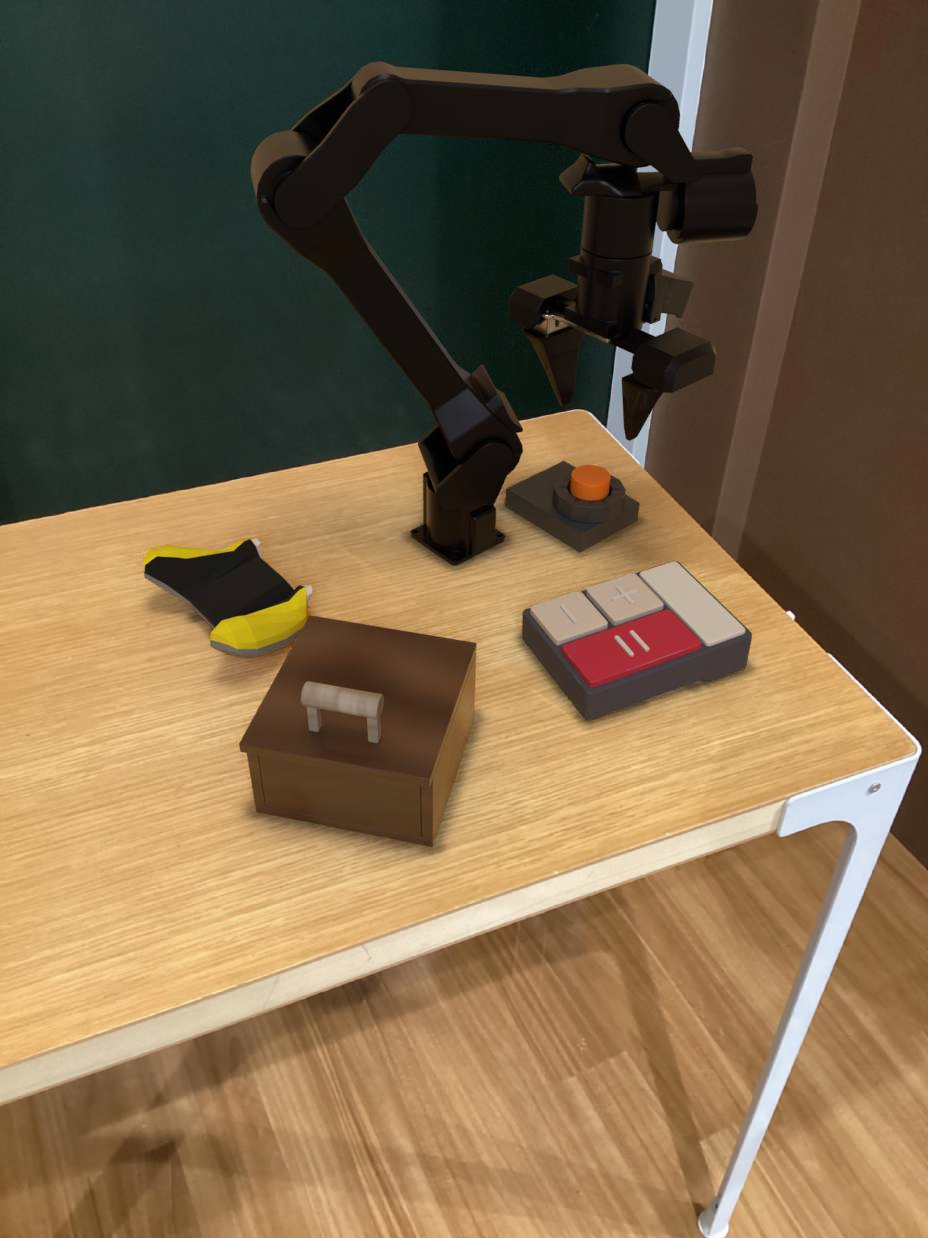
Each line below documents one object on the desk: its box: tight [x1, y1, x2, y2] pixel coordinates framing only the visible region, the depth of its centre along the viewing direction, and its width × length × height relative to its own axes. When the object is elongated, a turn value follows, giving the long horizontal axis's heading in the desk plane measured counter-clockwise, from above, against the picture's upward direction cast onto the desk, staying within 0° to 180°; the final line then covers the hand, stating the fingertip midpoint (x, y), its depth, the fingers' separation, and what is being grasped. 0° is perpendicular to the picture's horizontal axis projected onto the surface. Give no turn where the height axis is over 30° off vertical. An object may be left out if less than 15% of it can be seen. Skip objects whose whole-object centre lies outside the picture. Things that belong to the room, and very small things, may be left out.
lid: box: [238, 614, 478, 788], centre depth 71 cm, size 13×13×5 cm
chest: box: [246, 653, 477, 848], centre depth 75 cm, size 13×13×7 cm
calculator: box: [521, 560, 753, 721], centre depth 86 cm, size 11×4×15 cm
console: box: [504, 460, 641, 553], centre depth 101 cm, size 10×8×4 cm
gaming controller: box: [142, 537, 313, 659], centre depth 88 cm, size 15×6×10 cm
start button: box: [570, 464, 611, 501], centre depth 99 cm, size 4×4×2 cm
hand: (597, 421), depth 95 cm, fingers open, 8 cm apart
